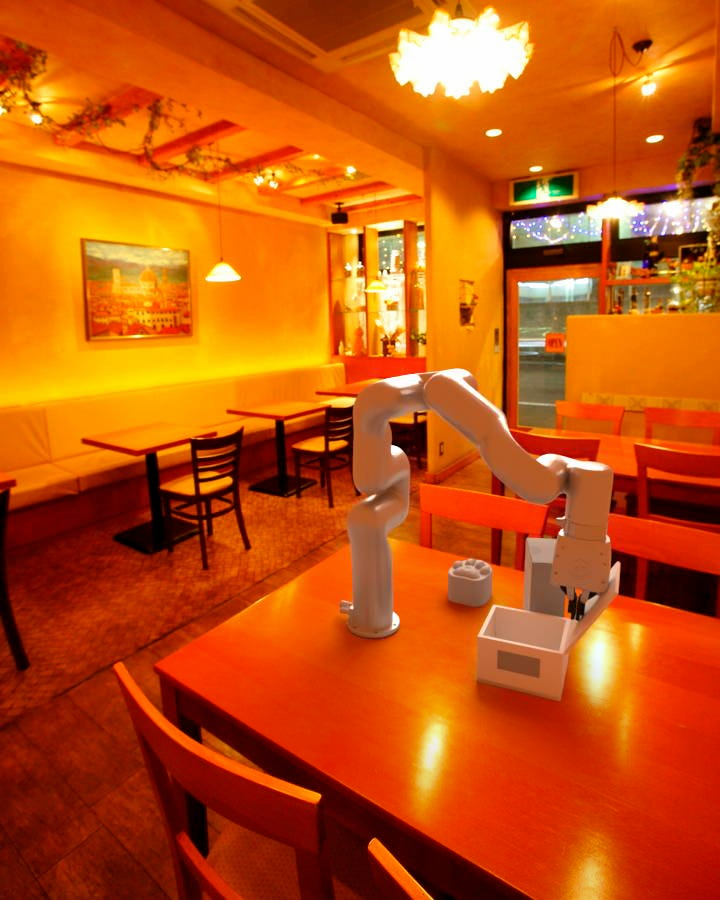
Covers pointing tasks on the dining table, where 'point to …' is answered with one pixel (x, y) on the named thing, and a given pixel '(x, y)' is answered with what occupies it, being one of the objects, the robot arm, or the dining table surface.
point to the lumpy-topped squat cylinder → (470, 582)
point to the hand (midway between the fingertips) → (575, 616)
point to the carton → (523, 651)
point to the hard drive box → (541, 579)
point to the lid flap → (593, 610)
